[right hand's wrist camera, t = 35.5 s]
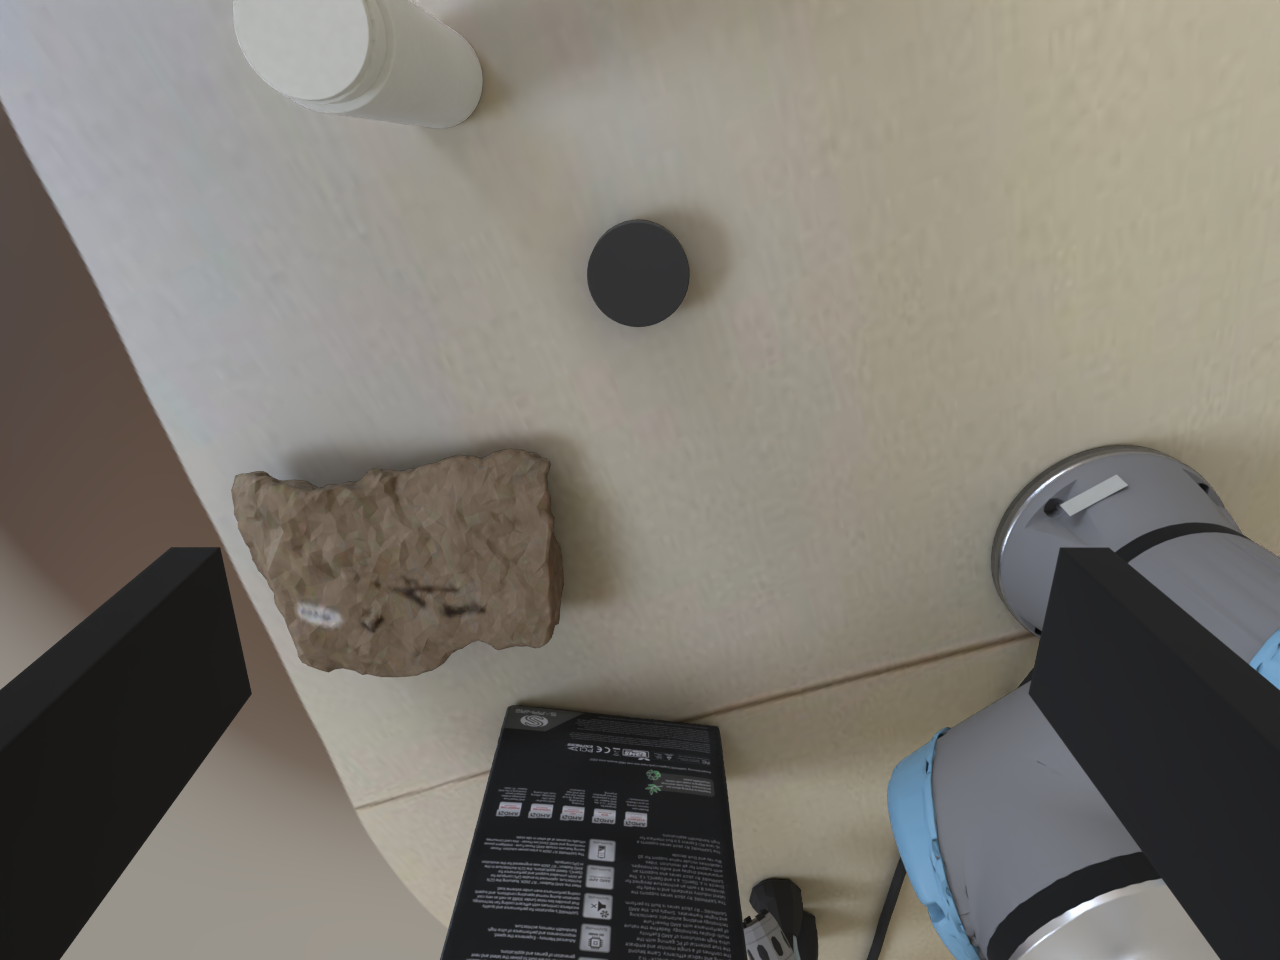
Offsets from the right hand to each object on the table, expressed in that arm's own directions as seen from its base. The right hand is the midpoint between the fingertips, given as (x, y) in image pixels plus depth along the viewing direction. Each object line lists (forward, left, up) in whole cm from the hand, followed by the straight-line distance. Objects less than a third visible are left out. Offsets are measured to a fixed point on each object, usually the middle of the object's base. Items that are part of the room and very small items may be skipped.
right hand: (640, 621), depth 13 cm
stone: (-17, +18, -41) cm, 47 cm away
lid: (0, 0, -39) cm, 39 cm away
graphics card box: (-36, +7, -41) cm, 54 cm away
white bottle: (+12, +10, -41) cm, 44 cm away
